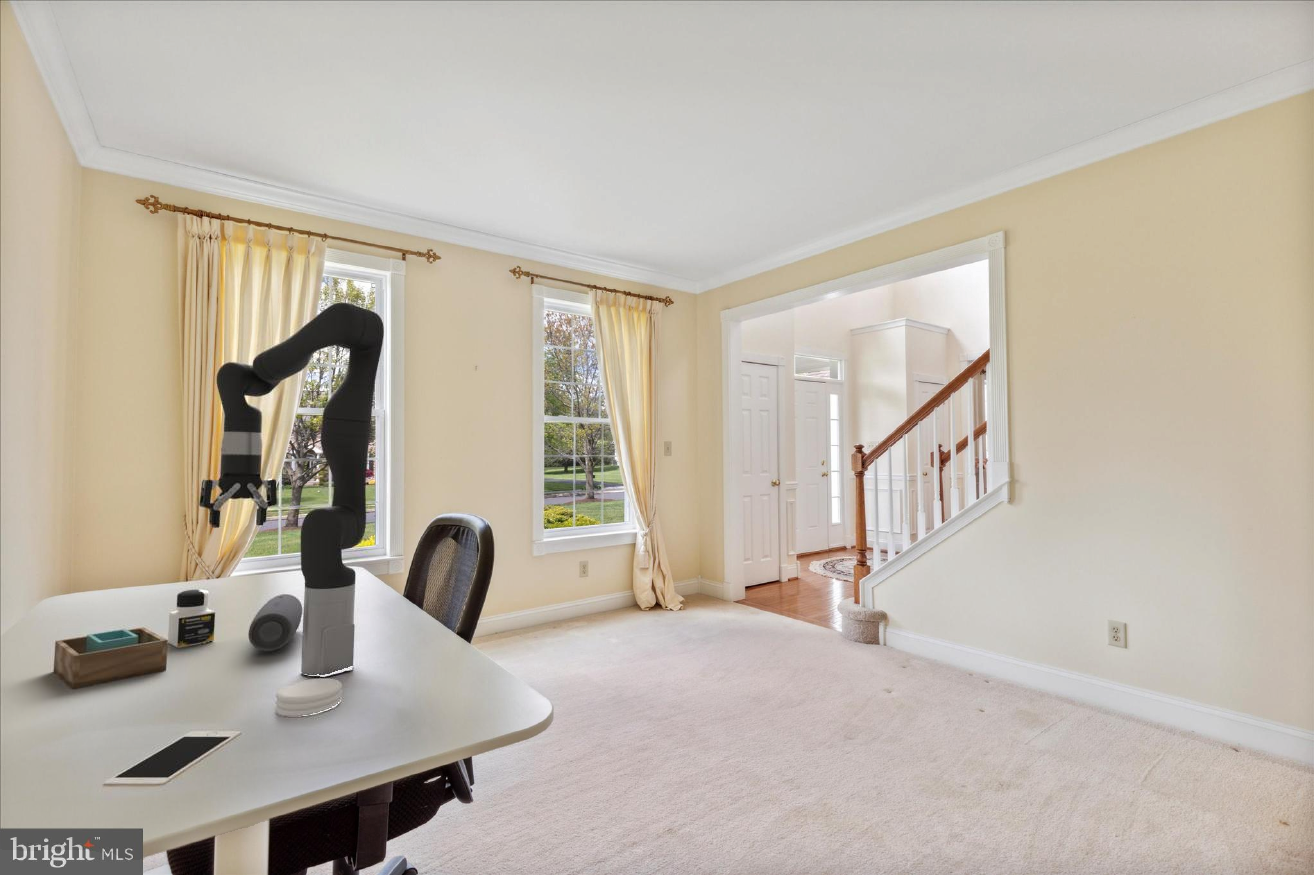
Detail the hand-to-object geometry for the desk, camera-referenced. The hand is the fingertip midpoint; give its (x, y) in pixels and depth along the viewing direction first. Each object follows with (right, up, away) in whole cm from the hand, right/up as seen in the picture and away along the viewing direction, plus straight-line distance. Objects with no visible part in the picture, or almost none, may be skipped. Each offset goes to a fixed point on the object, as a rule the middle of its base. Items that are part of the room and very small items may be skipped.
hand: (238, 526), depth 137 cm
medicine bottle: (-17, -29, +8) cm, 34 cm away
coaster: (+32, -27, -30) cm, 52 cm away
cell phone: (+24, -26, -49) cm, 60 cm away
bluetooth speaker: (+3, -29, +8) cm, 30 cm away
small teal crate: (-17, -26, -12) cm, 34 cm away
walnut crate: (-17, -27, -12) cm, 35 cm away
